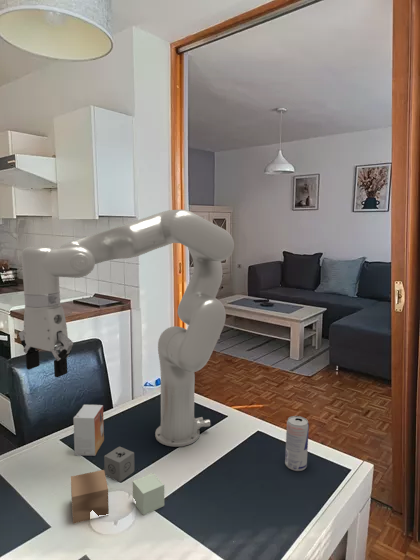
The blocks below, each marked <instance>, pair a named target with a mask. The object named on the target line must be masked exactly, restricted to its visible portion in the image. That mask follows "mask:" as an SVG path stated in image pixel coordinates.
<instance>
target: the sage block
mask: <svg viewBox="0 0 420 560" xmlns="http://www.w3.org/2000/svg"><path fill="white" fill-rule="evenodd" d="M133 498H134V499H135V501H136V505H135V506H136V508H137V510H138V511H139V512H140V514H142V515H143V516H145V515H148V514H150V513H152V512H154V511H156V510H158V509H160V508H162V507H163V508H164V507H165V484H164V483H163V482H162V481H161V479H159V477H157V476H156V474H155V473H154V472H151V473H149V474H147V475H144V476H143V477H140V478H137V479H135V480H132V499H133Z"/></svg>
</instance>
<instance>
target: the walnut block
mask: <svg viewBox="0 0 420 560" xmlns="http://www.w3.org/2000/svg"><path fill="white" fill-rule="evenodd" d="M70 492H71V494H70V495H71V509H72V510H71V511H72V513H71V514H72V524H73V525H75V524H78V523H83V522H87V521H90V512H91V511H92V510H93V511H94V512H95V513H96V514H97V515H98V516H99V515H106V514H109V513H110V512H109V507H110V506H109V487H108V482H107V476H106V475H105V469H101V470H96V471H92V472H91V471H90V472H87V473H82V474H81V473H80V474H77V475H76V474H75V475H71V476H70ZM109 515H110V514H109Z"/></svg>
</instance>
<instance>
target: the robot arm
mask: <svg viewBox="0 0 420 560" xmlns="http://www.w3.org/2000/svg"><path fill="white" fill-rule="evenodd" d="M171 244H181V245H183V246H185V247H187V249H188V252H189V254H190V256H191V258H192V262H193V263H192V264H193V269H192V270H193V272H192V274H191V277H190V279H189V282H188V284H187V286H186V288H185V290H184V293H183V295H182V297H181V300H180V301H179V303H178V307H177V316H178V318H179V320H180V321H182V322H183V323H184V324H186V325H188V326H187V329H186V328H184V327H181V326H178V325H177V326H176V325H175V326H171V327H167V328H165V330H163V331H162V332H161V334H160V336H159V338H158V341H157V351H158V359H159V365H160V366H159V367H160V368H159V369H160V425H159V426H158V427H157V428H156V429H155V433H154V434H155V435H154V436H155V439H156V441H157V442H159V443H160V444H162V445H165V446H167V447H175V448H177V447H185V446H188V445H192V444H193V443H195V442H196V441H197V440H198V439H199V437H200V429H201V428H207V427H210V426H211V420H210V419H209V418H208V419H204V418H203V416H201V417H195V383H196V381H195V380H196V379H195V377H196V375H195V372H198V371H200V370H202V369H203V368H204V367H205V366H206V365H207V363H208V362H209V360H210V358H211V356H212V354H213V352H214V349H215V347H216V346H217V342H218V341H219V338H220V336H221V334H222V331H223V329H224V326H225V323H226V318H227V314H226V313H227V312H226V309H225V306H224V304H223V303H222V301H221V300H219V299H217V298H216V297H217V295H218V293H219V290H220V287H221V285H222V282H223V281H222V280H223V266H222V262H223V261H225V260H227V259H229V258H230V257H231V256H232V255H233V253H234V250H235V240H234V238H233V236H232V235H231V233H230V232H228V231H227V230H226V229H224V228H223V227H221V226H219V225H217V224H215V223H213V222H211V221H210V220H209V219H206V218H204V217H202V216H200V215H199V214H196V213H194V212H193V211H190V210H186V209H170V210H165V211H162V212H158V213H156V214H152V215H149V216H146V217H143V218H140V219H138V220H134V221H131V222H128V223H126V224H123V225H119V226H116V227H113V228H109V229H108V230H105V231H101V232H98V233H94V234H91V235H88V236H85V237H84V236H83V237H81V238H80V239H79V238H78V239H76V240H73V241H70V242H67V243H65V244H62V245H61V246H59V247H53V246H48V245H47V246H46V245H41V246H40V245H38V246H37V245H35V246H27V247H25V248H23V250H22V251H21V265H22V281H23V293H24V295H23V296H24V297H23V298H24V313H23V330H21V331H19V332H18V337H19V339H20V342H21V343H20V344H21V345H22V347H23V352H24V353H25V363H26V364H25V365H26V370H33V369H34V368H38V367H39V366H40V352H39V350H43V351H46V352H51V353H52V355H53V357H54V358H55V359H54V360H53V368H54V369H53V370H54V377H55V378H60V377H62V376H64V375H66V374H67V373H68V358H69V356H70V354H71V353H72V348H73V345H74V341H73V340H72V339H70V338H69V335H68V327H67V320H66V314H65V310H64V307H63V305H61V295H60V292H61V291H60V278H71V279H72V278H74V279H76V278H77V279H78V278H83V277H86V276H88V275H90V273H92V271H93V270H94V268H95V265H97V264H101V263H103V262H107V261H112V260H118V259H119V260H124V259H125V260H126V259H132V258H135V257H140V256H141V255H145V254H147V253H149V252H152V251H154V250H157V249H160V248H163V247H166V246H169V245H171ZM59 351H60V352H59Z"/></svg>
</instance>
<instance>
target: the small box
mask: <svg viewBox="0 0 420 560" xmlns="http://www.w3.org/2000/svg"><path fill="white" fill-rule="evenodd" d="M72 420H73V421H72V422H73V441H74V442H73V444H74V445H73V447H74V456H87V457H88V456H91V457H94V456H96V455H97V453H98V452H99V449H100V448H101V446H102V444H103V443H104V441H105V435H104V434H105V431H104V430H105V429H104V427H105V426H104V425H105V423H104V405H103V404H83V405H82V407H81V408H80V409H79V411H78V412H77V413H76V415H74V416H73V419H72Z"/></svg>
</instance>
